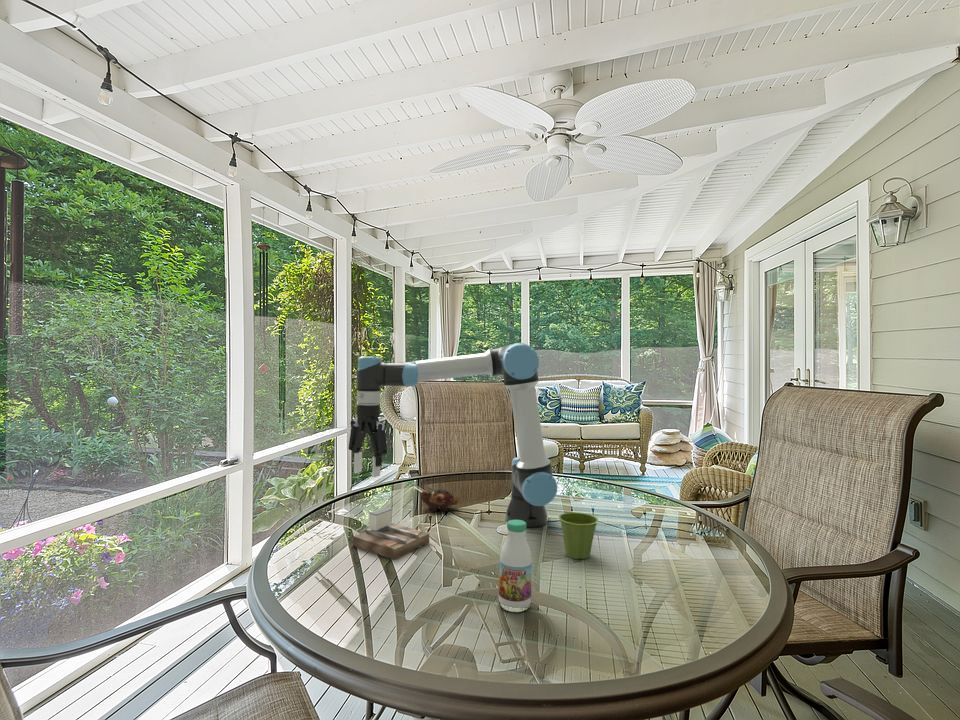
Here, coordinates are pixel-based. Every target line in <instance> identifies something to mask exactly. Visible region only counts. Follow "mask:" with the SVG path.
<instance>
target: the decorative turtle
mask: <svg viewBox="0 0 960 720" xmlns="http://www.w3.org/2000/svg"><path fill="white" fill-rule="evenodd" d="M420 499H421V501H422V502H423V503H424V504H425V505H427V507H428V508H429V509H430V510H431V512H433V513H435V512H437V510H439V509H440V510H441V511H443V512H447V510H448V508H449V506H455V505H458V503H459V501H460V499H459V498H458V497H456V496H454V494H453V493H452V492H451V491H449V490H447V489H443V488H439V489H438V488H437V489H434V490H431V491H430V490H426V489H425V490H422V491H421V492H420Z"/></svg>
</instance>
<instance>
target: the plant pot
mask: <svg viewBox="0 0 960 720" xmlns="http://www.w3.org/2000/svg"><path fill="white" fill-rule="evenodd" d="M558 519H559V520H560V525H561V529H562V534H563V535H562V537H563V543H564V544H563V545H564V552H565V555H566V556H567V557H569V558H571V559H574V560H579V559H582V560H587V559H588V558H589V557H590V556H591V552H592V546H593V542H594V541H593V540H594V537H595V536H594V534H595V530H596V527H597V524H598V522H599V518H598V517H597V516H595V515H592V514H589V513H584V512H575V511H574V512H573V511H572V512H564V513H561V514H560V515H558Z"/></svg>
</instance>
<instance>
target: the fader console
mask: <svg viewBox="0 0 960 720" xmlns="http://www.w3.org/2000/svg"><path fill="white" fill-rule="evenodd" d="M352 537H353V538H352V540H353V541H352V547H354V546H355V547H354V548H357V547H358V549H361V550H364V551H366V552H370V553H373V554H376V555H380V556H383V557H386V558H388V559H392V560H398V558H400V557H403V556H405V555H407V554H409V553H411V552H414V551H415V550H417V549H419V548H420V547H419V546H421V547H423V546H422V545H424V544H426V545H427V543H428V544H429V543H430V533H429V532H426V531H422V530H418V529H415V528H411V527H408V526H405V525H401V524H396V523H392V522H391V525H389V526H388V531H385V532H383V533H382V532H378V531H375V530H371V529H369V528H366V529H365V531H364V532H362V533H358V534H356V535H354V536H352ZM424 546H425V545H424ZM418 547H419V548H418ZM416 548H417V549H416ZM414 549H415V550H414Z"/></svg>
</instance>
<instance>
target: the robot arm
mask: <svg viewBox="0 0 960 720" xmlns="http://www.w3.org/2000/svg"><path fill="white" fill-rule="evenodd" d="M357 360H358V361H357V370H356V371H357V373H356V374H357V375H356V377H357V379H356V382H357V385H356V403H357V405H356V414H355V415H356V416H357V419H354V420H350V433H349V434H350V435H349V440H348V450H349V451H352V454H353V455H352V462H353V474H358V473H362V469H363V467H362V465H363V452H362V451H363V450H362V447H363V443H364V441H365V438H366V435H368V437H369V439H370V442H371V446H372V449H373V454H374V455H373V456H372V469H371V471H372V472H371V473H372V474H371V476H372V478H376V477H380V476H381V466H382V460H383V456H385V455H387V454H388V449H387V447H388V446H387V445H388V444H387V435H386V434H387V433H386V429H387V424H386V423H385V422H384V423H382V422H380V420H379V417H380V416H381V405H380V404H381V402H382V401H381V398H382V397H381V396H382V395H381V393H382V388H381V387H405V388H408V387H416V386H418V383H421V382H429V381H437V380H445V379H454V378H455V379H456V378H463V377H471V376H479V375H481V376H482V375H489V376H490V377H494V376H502V377H503V384H504V385H503V386H504V387H505V388H507V389H508V390H509V395H510V401H511V409H512V416H513V422H514V429H515V436H516V441H517V449H518V456H516V457H514V458H512V462H511V464H510V465H511V486H510V487H511V489H510V490H511V491H510V492H511V494H510V499H509V503H508V505H507V509H506V511H505V512H506V513H505V521H506V523H508V521H510V520H522V521H525V522H526V528H537V527H542V526H545V525H546V524H547V523H548V512H547V508H546V505H549V504H550V503H551V502H553V500H554V499H555V498H556V496H557V493H558V484H557V480H556V478H555V477H554V476H553V470H552V469H553V468H552V463H551V460H550V459H549V458H548V457H546V453H545V446H544V440H543V432H542V427H541V419H540V411H539V407H538V398H537V392H536V391H537V390H536V386H537V384H538V383H539V381H540V380H539V375H538V373H539V372H538V369H539V366H540V359H539V356H538V354H537V351H536V350H535V348H533V347H532V346H530V345H529V344H527V343H523V342H515V343H510V344H507V345H504V346H501V347H496V348H491V349H487V350H486V351H485V352H482V353H473V354H465V355H464V354H462V355H455V356H448V357H440V358H439V357H437V358H430V359H422V360H415V361H405V362H403V361H402V362H401V361H400V362H396V363H394V362H391V363H388V362H383V360H382V357H380V356H367V355H366V356H360V357H359V358H358V359H357Z"/></svg>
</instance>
